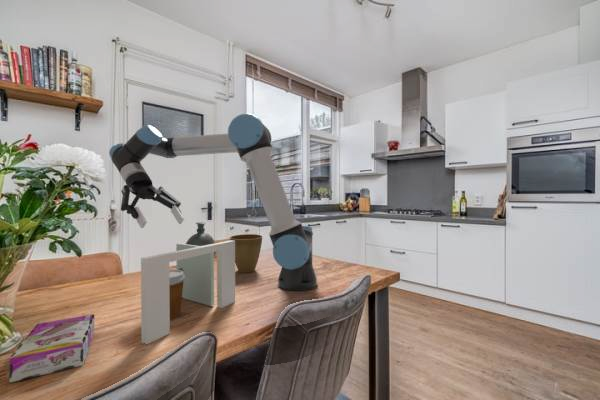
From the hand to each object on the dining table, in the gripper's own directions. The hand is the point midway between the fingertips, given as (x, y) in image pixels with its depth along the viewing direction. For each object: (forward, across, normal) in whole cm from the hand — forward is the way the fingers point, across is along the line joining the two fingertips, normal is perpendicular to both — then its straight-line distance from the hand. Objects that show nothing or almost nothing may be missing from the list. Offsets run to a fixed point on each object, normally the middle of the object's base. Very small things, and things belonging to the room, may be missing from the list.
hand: (164, 223), depth 91 cm
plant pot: (+18, -42, -19) cm, 49 cm away
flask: (+2, -35, -34) cm, 49 cm away
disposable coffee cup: (+26, +6, -11) cm, 29 cm away
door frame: (+32, +4, -4) cm, 33 cm away
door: (+24, -5, -12) cm, 27 cm away
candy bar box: (+16, +27, -16) cm, 35 cm away
